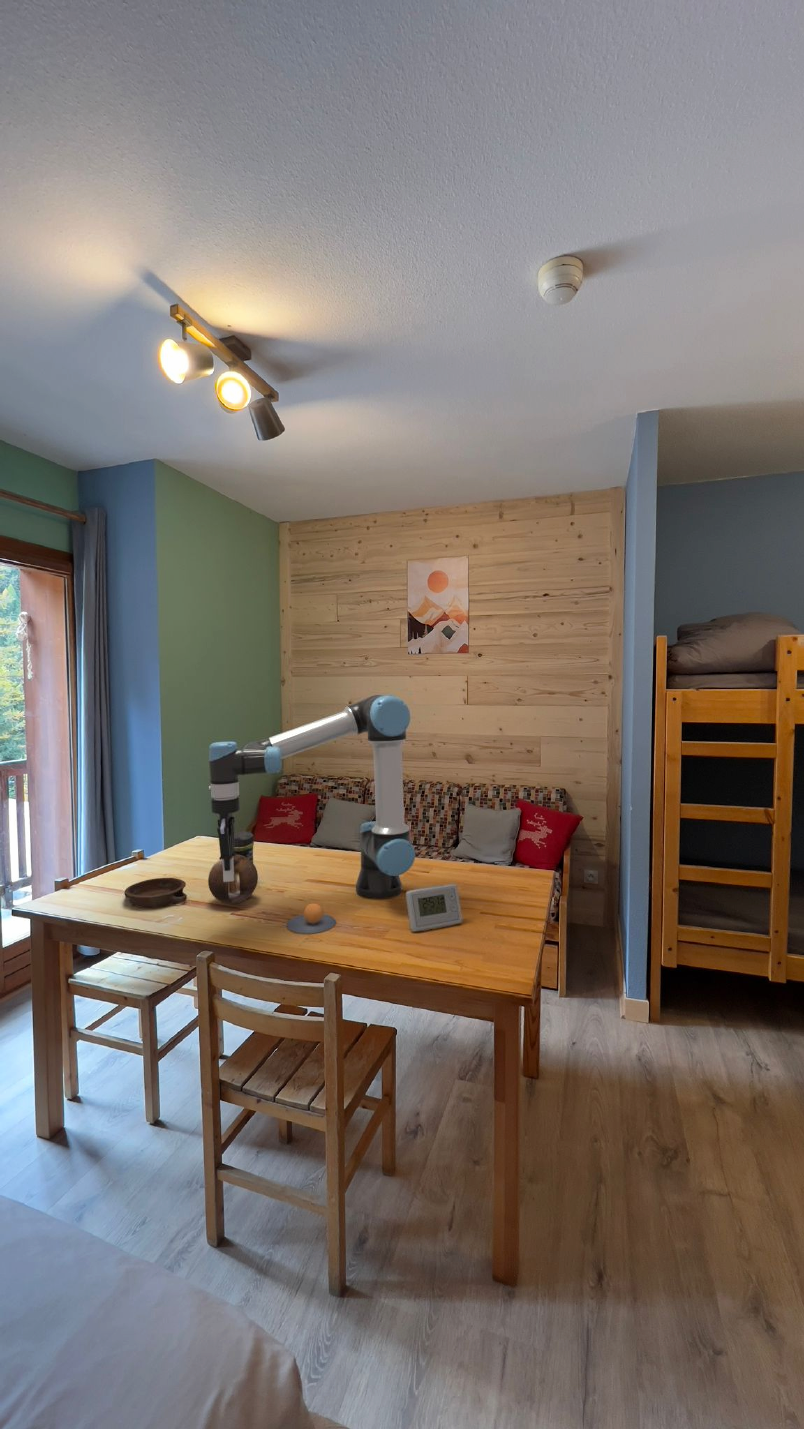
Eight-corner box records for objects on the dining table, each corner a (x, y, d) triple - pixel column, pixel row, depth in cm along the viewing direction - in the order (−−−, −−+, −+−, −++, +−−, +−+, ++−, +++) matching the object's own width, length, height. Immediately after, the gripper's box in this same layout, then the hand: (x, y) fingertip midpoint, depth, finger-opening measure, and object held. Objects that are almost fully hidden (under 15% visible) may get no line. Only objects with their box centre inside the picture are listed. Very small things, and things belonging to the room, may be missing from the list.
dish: (144, 889, 200) (143, 875, 200) (202, 894, 195) (202, 879, 195) (107, 908, 183) (106, 893, 183) (170, 914, 178) (169, 898, 178)
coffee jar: (244, 893, 195) (243, 837, 194) (223, 891, 197) (221, 836, 196) (258, 883, 205) (257, 830, 204) (237, 881, 207) (236, 829, 206)
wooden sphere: (219, 893, 195) (218, 848, 194) (264, 894, 194) (263, 848, 193) (201, 911, 180) (199, 862, 179) (249, 911, 179) (248, 862, 178)
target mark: (335, 913, 177) (335, 912, 177) (335, 932, 164) (335, 931, 164) (288, 915, 176) (288, 914, 176) (284, 935, 162) (284, 934, 162)
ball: (302, 902, 172) (304, 920, 173) (302, 909, 167) (304, 928, 167) (321, 899, 173) (323, 917, 173) (321, 906, 168) (324, 925, 168)
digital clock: (409, 934, 162) (408, 896, 162) (402, 921, 171) (402, 885, 171) (466, 929, 165) (466, 891, 165) (457, 916, 174) (457, 881, 174)
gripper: (216, 793, 171) (219, 873, 173) (206, 802, 158) (210, 889, 160) (242, 792, 172) (246, 872, 174) (234, 801, 159) (238, 887, 161)
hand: (228, 880), depth 167 cm, fingers closed
